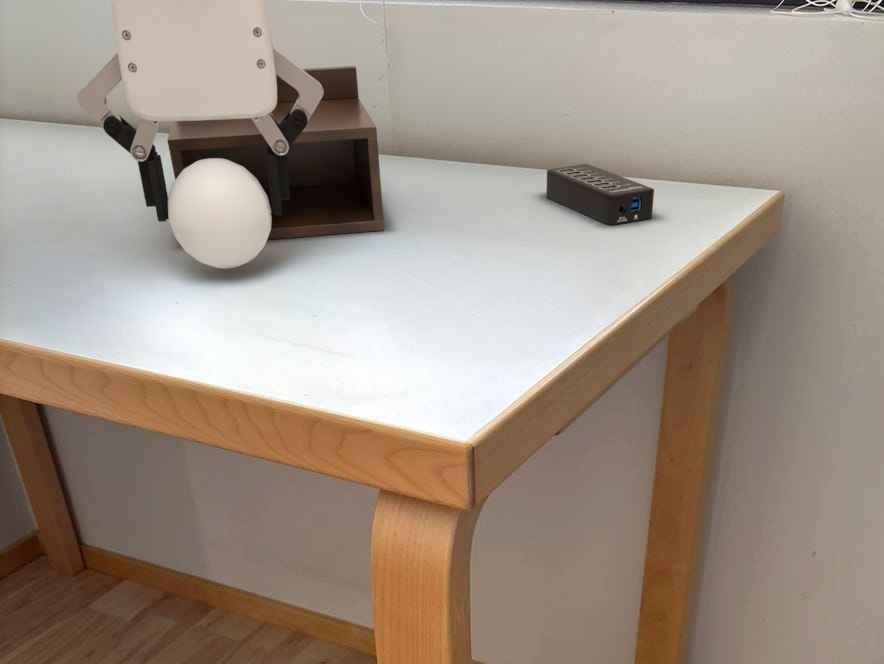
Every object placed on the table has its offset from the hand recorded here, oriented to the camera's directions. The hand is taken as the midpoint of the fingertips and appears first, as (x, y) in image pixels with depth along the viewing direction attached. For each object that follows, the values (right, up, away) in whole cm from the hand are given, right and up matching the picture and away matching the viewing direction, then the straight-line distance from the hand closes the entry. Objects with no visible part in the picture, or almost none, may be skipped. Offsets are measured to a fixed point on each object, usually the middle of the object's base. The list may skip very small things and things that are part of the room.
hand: (221, 212), depth 72 cm
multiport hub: (+29, +6, +14) cm, 33 cm away
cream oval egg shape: (0, -3, +2) cm, 4 cm away
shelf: (+2, +6, +14) cm, 15 cm away
